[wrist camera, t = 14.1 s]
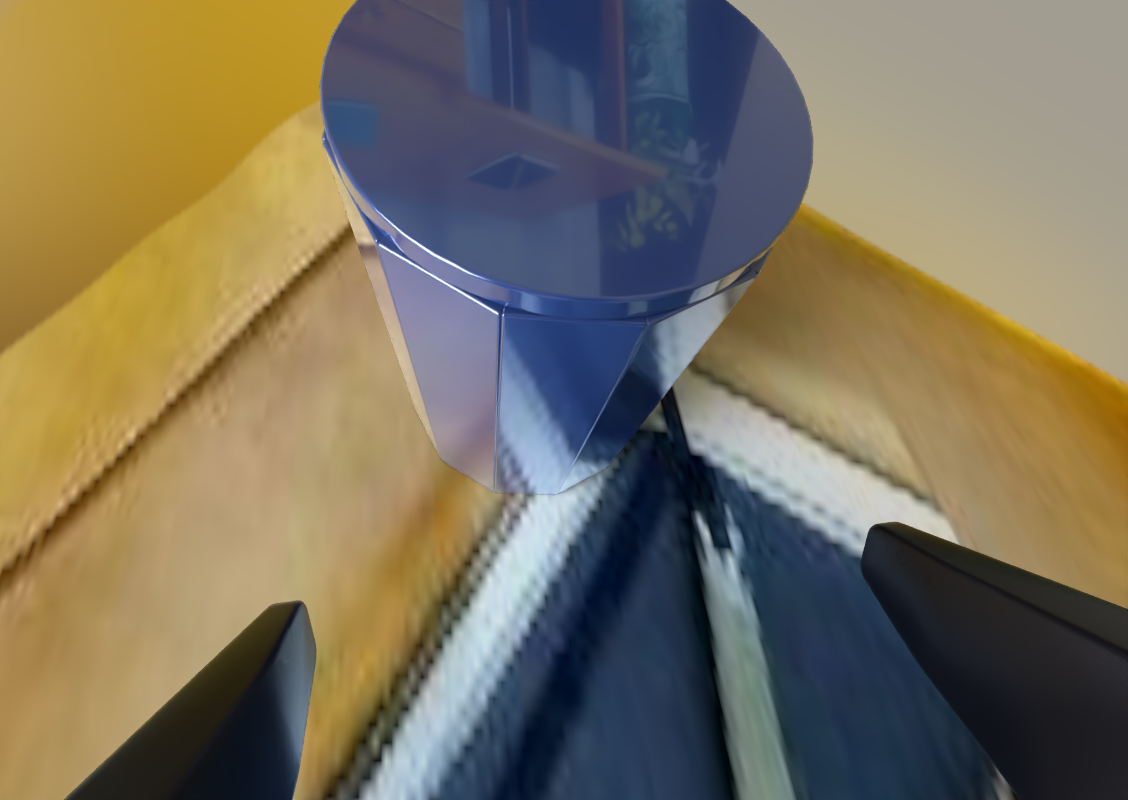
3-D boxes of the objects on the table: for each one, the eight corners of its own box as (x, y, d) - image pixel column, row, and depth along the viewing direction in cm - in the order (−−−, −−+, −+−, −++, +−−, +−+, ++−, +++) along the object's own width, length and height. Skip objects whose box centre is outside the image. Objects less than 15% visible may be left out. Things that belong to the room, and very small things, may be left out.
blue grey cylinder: (567, 539, 16) (696, 406, 6) (370, 416, 17) (194, 116, 7) (669, 359, 19) (873, 66, 9) (496, 260, 20) (504, -119, 10)
